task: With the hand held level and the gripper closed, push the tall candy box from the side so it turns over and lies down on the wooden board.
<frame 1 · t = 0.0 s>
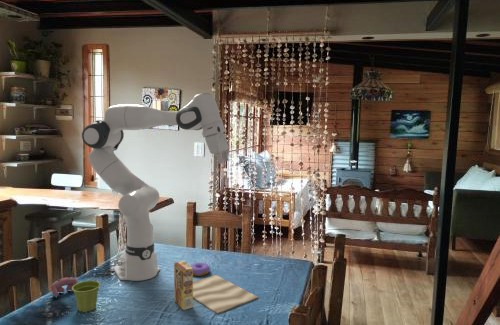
hand: (224, 162, 160), 52 cm above the table, tool tilted 20°, fingers open, 8 cm apart
pink arch: (65, 293, 151), on the table
plant pot: (86, 309, 139), on the table
wooden board: (216, 293, 154), on the table
candy box: (183, 304, 144), on the table
donut: (199, 273, 175), on the table
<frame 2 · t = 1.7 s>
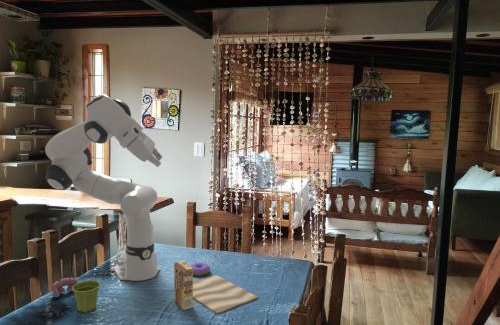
hand: (160, 161, 134), 54 cm above the table, tool tilted 45°, fingers open, 8 cm apart
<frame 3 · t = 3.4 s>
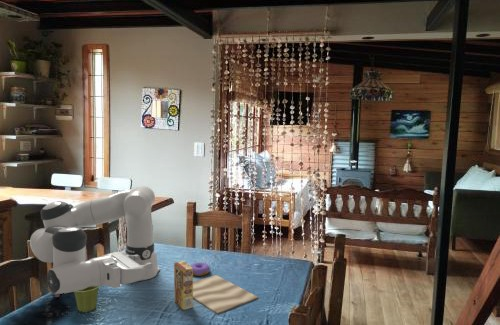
hand: (145, 261, 132), 20 cm above the table, tool horizontal, fingers open, 8 cm apart
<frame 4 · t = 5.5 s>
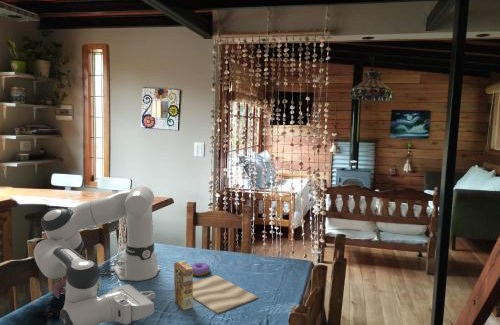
hand: (153, 293, 135), 8 cm above the table, tool horizontal, fingers closed
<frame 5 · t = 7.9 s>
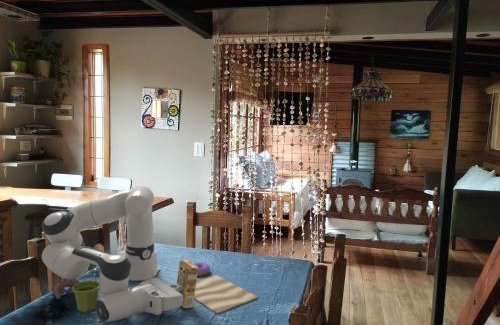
hand: (180, 286, 142), 7 cm above the table, tool horizontal, fingers closed
candy box: (183, 304, 144), on the table, touching gripper
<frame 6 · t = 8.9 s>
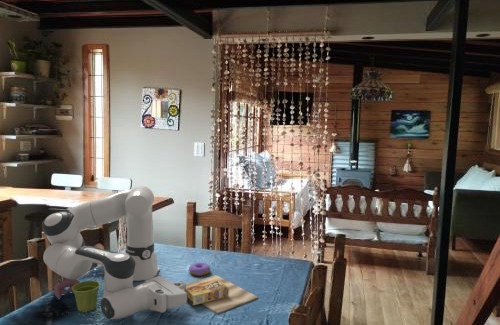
hand: (184, 284, 144), 8 cm above the table, tool horizontal, fingers closed
candy box: (187, 295, 145), point 3 cm above the table, touching wooden board
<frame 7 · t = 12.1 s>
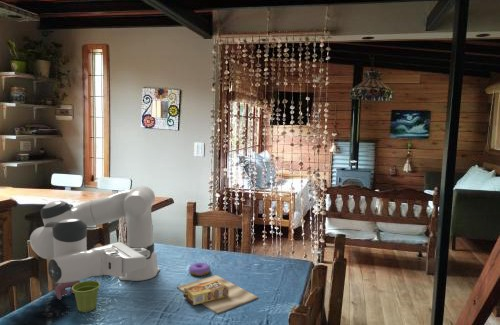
hand: (146, 251, 132), 24 cm above the table, tool horizontal, fingers closed
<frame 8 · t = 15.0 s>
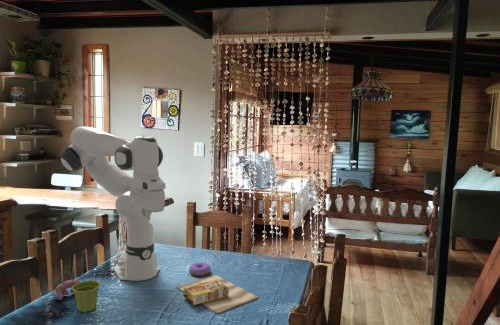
hand: (146, 219, 137), 33 cm above the table, tool pointing down, fingers closed
at the end: candy box tilted 91°; candy box touching wooden board; candy box inside the target area (8.6 cm from its centre), point 2.8 cm above the table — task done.
